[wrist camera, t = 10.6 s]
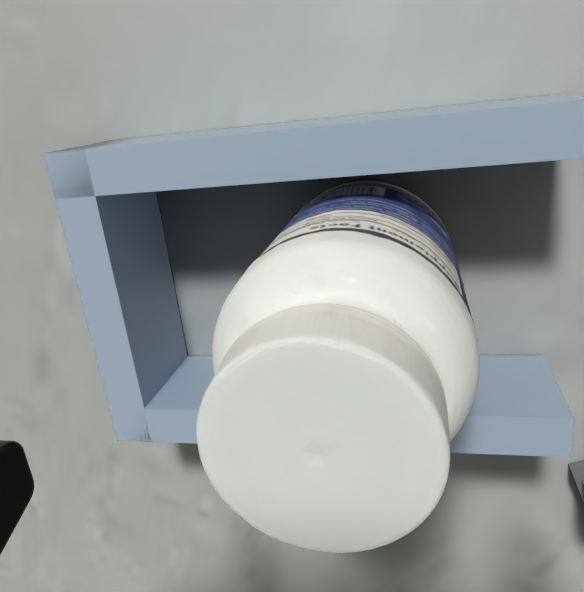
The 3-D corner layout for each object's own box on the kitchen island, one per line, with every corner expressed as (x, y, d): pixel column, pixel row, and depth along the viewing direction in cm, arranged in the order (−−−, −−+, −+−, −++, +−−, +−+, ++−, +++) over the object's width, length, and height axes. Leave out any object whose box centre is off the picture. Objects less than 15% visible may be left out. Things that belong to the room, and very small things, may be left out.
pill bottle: (396, 368, 18) (380, 637, 9) (256, 290, 18) (110, 486, 9) (492, 232, 16) (588, 418, 7) (333, 144, 16) (236, 220, 7)
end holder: (559, 94, 14) (600, 98, 11) (542, 388, 18) (571, 457, 14) (111, 140, 18) (43, 153, 14) (163, 385, 21) (117, 440, 17)
